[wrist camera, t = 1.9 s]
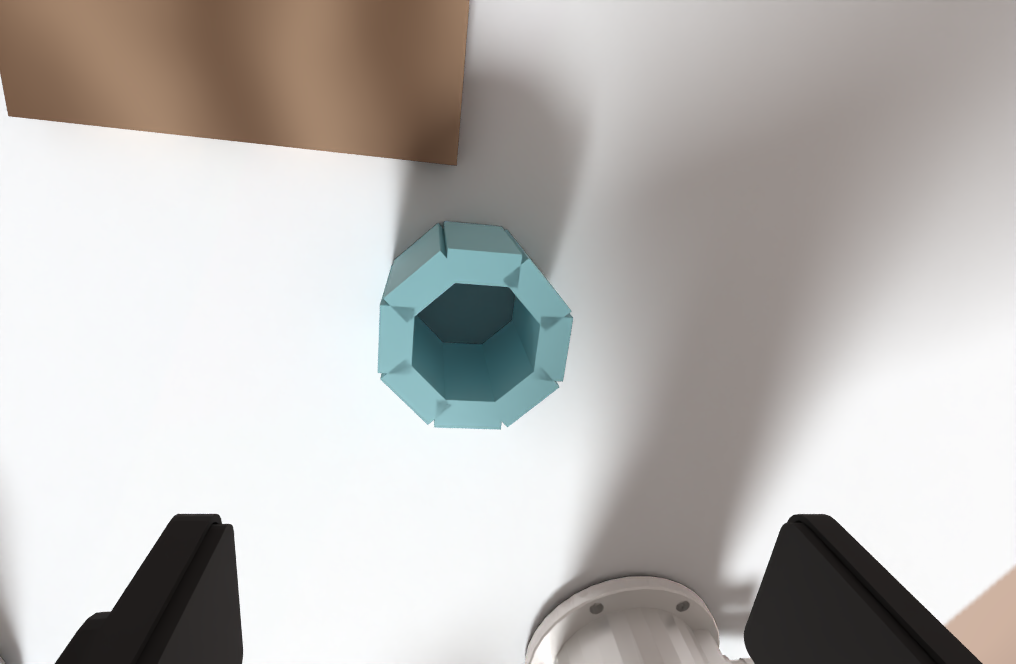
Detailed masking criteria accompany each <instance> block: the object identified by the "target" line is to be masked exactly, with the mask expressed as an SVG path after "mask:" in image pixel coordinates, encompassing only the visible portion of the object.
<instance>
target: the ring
mask: <svg viewBox="0 0 1016 664" xmlns="http://www.w3.org/2000/svg"><path fill="white" fill-rule="evenodd" d="M455 283H461V284H475V285H488V286H502V287H509V288H510V289H511V290H512V292H513V293H514V294H515V299H514V307H513V316H512V321H510V322H509V323H508V324H507V325H505V326H504V327H503V328H502V329H500V330H499V331H498V332H497V333H495V334H494V335H493V336H492V337H490V338H489V339H488V340H487V341H485V342H484V343H483V344H467V343H449V342H442V341H441V340H440V339H439V338H438V337H437V336H436V335H435V334H434V333H433V331H432V330H431V329H430V328H429V327H428V326H427V325H426V324H425V323H424V322H423V321H422V320H421V319H420V318H419V317H418V316H417V314H418V313H419V312H421V311H422V310H423V309H424V308H425V307H427V306H428V305H429V304H430V303H432V302H433V301H434V300H435V299H436V298H438V297H439V296H440V295H441V294H442V293H444V292H445V291H446V290H447V289H449V288H450V287H451V286H452V285H453V284H455ZM570 312H571V310H570V309H569V307H568V306H567V305H566V304H565V302H564V301H563V300H562V298H561V297H560V296H559V294H558V293H557V292H556V291H555V289H554V288H553V287H552V285H551V284H550V283H549V282H548V280H547V279H546V278H545V276H544V275H543V274H542V272H541V271H540V270H539V269H538V267H537V266H536V265H535V264H534V262H533V261H532V260H531V259H530V257H529V256H528V255H527V254H526V252H525V251H524V250H523V249H522V248H521V246H520V245H519V244H518V243H517V241H516V240H515V239H514V238H513V236H512V235H511V234H510V233H509V231H508V230H507V229H506V230H504V229H503V228H502V226H492V225H482V224H471V223H460V222H449V221H444V229H443V228H442V227H441V226H440V224H439V223H437V224H436V225H435V226H434V227H433V228H431V229H430V230H429V231H428V232H427V233H426V234H424V235H423V236H422V237H421V238H420V239H418V240H417V241H416V242H415V243H414V244H413V245H411V246H410V247H409V248H408V249H407V250H405V251H404V252H403V253H402V254H401V255H400V256H398V257H397V258H396V259H395V260H394V263H393V265H392V266H391V270H390V273H389V276H388V280H387V283H386V287H385V290H384V293H383V297H382V300H381V303H380V319H379V349H378V373H382V374H381V380H382V381H383V382H384V383H385V384H386V385H387V386H388V387H389V388H390V389H391V390H392V391H393V392H394V393H395V394H396V395H397V396H398V397H399V398H400V399H401V400H402V401H404V402H405V403H406V404H407V405H408V406H409V407H410V408H411V409H412V410H413V411H414V412H415V413H416V414H417V415H418V416H419V417H420V418H421V419H422V420H423V421H424V422H425V423H426V424H427V425H428V424H429V423H431V422H432V421H433V420H434V427H438V428H471V429H501V423H502V422H503V423H504V424H505V425H506V426H507V427H508V426H510V425H511V424H512V423H514V422H515V421H516V420H518V419H519V418H520V417H521V416H523V415H524V414H525V413H527V412H528V411H529V410H530V409H532V408H533V407H534V406H536V405H537V404H538V403H540V402H541V401H542V400H543V399H545V398H546V397H547V396H549V395H550V394H551V393H553V392H554V391H555V390H556V389H558V388H559V386H558V384H557V382H556V381H563V378H564V372H565V366H566V359H567V353H568V347H569V341H570V335H571V329H572V322H573V317H572V316H571V314H570Z"/></svg>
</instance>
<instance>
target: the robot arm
mask: <svg viewBox="0 0 1016 664" xmlns="http://www.w3.org/2000/svg"><path fill="white" fill-rule="evenodd" d="M744 642H745V646H746V649H747V651H748V653H749V655H750V657H751V658H740V659H739V660H730V659H729V658H728V657H727V656H725V655H722V653H721V651H720V649H719V644H720V641H719V631H718V628H717V625H716V622H715V620H714V617H713V616H712V614H711V613H710V611H709V609H708V608H707V606H706V604H705V603H704V601H703V600H702V599H701V598H700V597H699V596H698V595H697V594H696V593H695V592H694V591H692V590H690V589H689V588H687V587H685V586H684V585H682V584H680V583H677V582H674V581H671V580H668V579H664V578H658V577H651V576H630V577H624V578H618V579H612V580H608V581H605V582H602V583H599V584H596V585H593V586H591V587H588V588H586V589H584V590H582V591H580V592H578V593H576V594H574V595H573V596H571V597H570V598H568V599H567V600H565V601H564V602H563V603H561V604H560V605H558V606H557V607H556V608H555V609H554V610H553V611H552V612H551V613H550V614H549V615H548V616H547V617H546V618H545V619H544V620H543V622H542V623H541V624H540V626H539V627H538V628H537V630H536V631H535V633H534V635H533V637H532V639H531V641H530V643H529V645H528V649H527V653H526V658H525V664H982V663H981V662H980V661H979V660H978V659H977V658H976V657H975V656H974V655H973V654H972V653H971V652H970V651H969V650H968V649H967V648H966V647H965V646H964V645H963V644H962V643H961V642H960V641H959V640H958V639H957V638H956V637H955V636H953V634H951V632H949V631H948V630H947V629H946V628H945V627H944V626H943V625H942V624H941V623H940V622H939V621H938V620H937V619H936V618H935V617H934V616H933V615H932V614H931V613H930V612H929V611H928V610H927V609H926V608H925V607H924V606H923V605H922V604H921V603H920V602H919V601H918V600H917V599H916V598H915V597H914V596H913V595H912V594H911V593H910V592H909V591H907V590H906V589H905V588H904V587H903V586H902V585H901V584H900V583H899V582H898V581H897V580H896V579H895V578H894V577H893V576H892V575H891V574H890V573H889V572H888V571H887V570H886V569H885V568H884V567H883V566H882V565H881V564H880V563H879V562H878V561H877V560H876V559H875V558H874V557H873V556H872V555H871V554H870V553H869V552H867V551H866V550H865V549H864V548H863V547H862V546H861V545H860V544H859V543H858V542H857V541H856V540H855V539H854V538H853V537H852V536H851V535H850V534H849V533H848V532H847V531H846V530H845V529H844V528H843V527H842V526H841V525H840V524H839V523H838V522H837V521H836V520H835V519H833V518H832V517H830V516H828V515H825V514H797V515H793V516H792V517H790V518H789V520H788V522H787V523H785V524H784V525H783V526H782V527H781V529H780V532H779V535H778V538H777V541H776V543H775V546H774V549H773V552H772V555H771V557H770V560H769V563H768V566H767V568H766V571H765V574H764V577H763V580H762V582H761V585H760V588H759V591H758V594H757V596H756V599H755V602H754V605H753V607H752V610H751V613H750V616H749V619H748V621H747V624H746V627H745V630H744ZM242 660H243V642H242V629H241V617H240V604H239V592H238V579H237V566H236V554H235V541H234V530H233V526H232V525H231V524H222V522H221V518H220V516H219V515H218V514H177V515H175V516H174V517H173V518H172V519H171V521H170V522H169V523H168V525H167V527H166V528H165V530H164V531H163V533H162V534H161V536H160V537H159V539H158V540H157V542H156V543H155V545H154V546H153V548H152V550H151V551H150V553H149V554H148V556H147V557H146V559H145V560H144V562H143V563H142V565H141V566H140V568H139V570H138V571H137V573H136V574H135V576H134V577H133V579H132V580H131V582H130V583H129V585H128V586H127V588H126V589H125V591H124V593H123V594H122V596H121V597H120V599H119V600H118V602H117V603H116V605H115V606H114V608H113V609H112V611H111V612H99V613H95V614H94V615H92V616H91V617H89V618H88V619H87V620H86V621H85V622H84V624H83V625H82V626H81V627H80V628H79V630H78V631H77V632H76V634H75V635H74V637H73V638H72V640H71V641H70V642H69V644H68V645H67V647H66V648H65V650H64V651H63V653H62V654H61V655H60V657H59V658H58V660H57V661H56V663H55V664H242Z"/></svg>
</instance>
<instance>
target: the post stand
mask: <svg viewBox="0 0 1016 664" xmlns="http://www.w3.org/2000/svg"><path fill="white" fill-rule="evenodd" d="M468 12H469V0H0V74H1V79H2V85H3V90H4V95H5V101H6V106H7V111H8V116H12V117H21V118H30V119H39V120H48V121H57V122H66V123H75V124H84V125H93V126H102V127H111V128H120V129H130V130H139V131H148V132H157V133H166V134H175V135H184V136H193V137H202V138H211V139H220V140H229V141H238V142H247V143H257V144H266V145H275V146H284V147H293V148H302V149H311V150H320V151H329V152H338V153H347V154H356V155H365V156H375V157H384V158H393V159H402V160H411V161H420V162H429V163H438V164H447V165H456V166H457V155H458V142H459V129H460V116H461V103H462V90H463V77H464V64H465V51H466V38H467V25H468Z"/></svg>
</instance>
